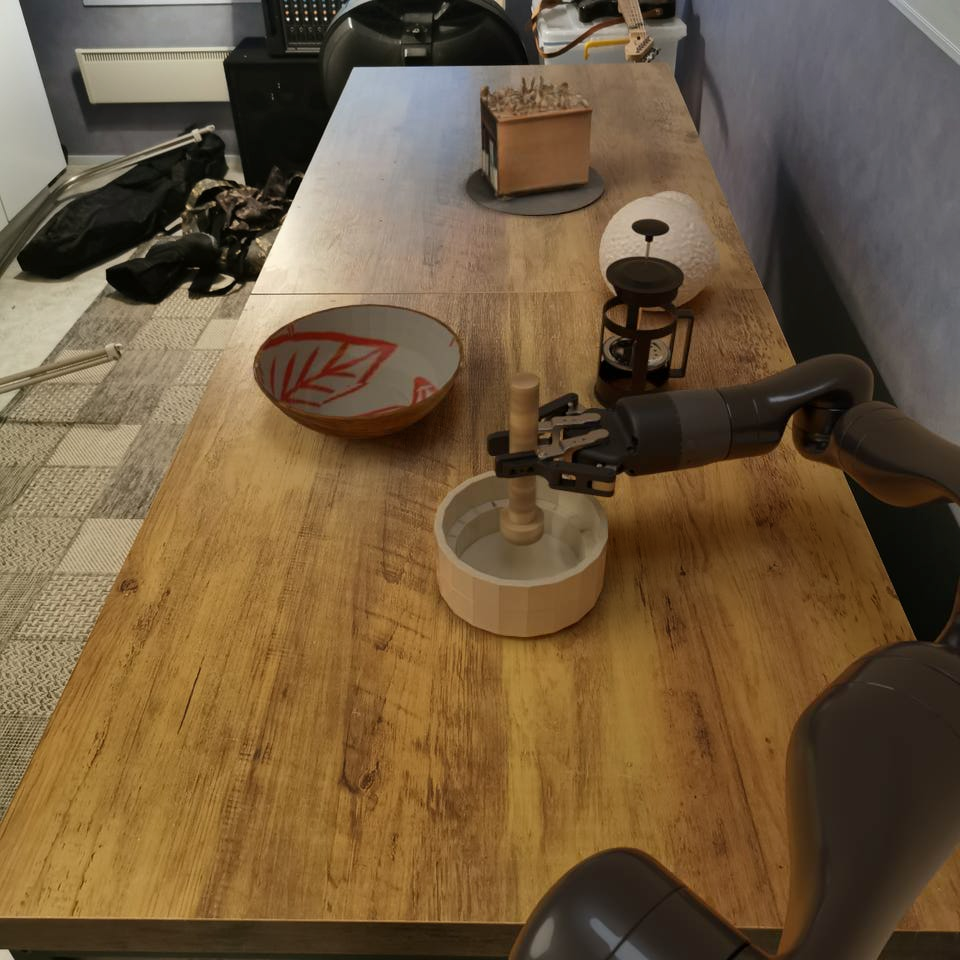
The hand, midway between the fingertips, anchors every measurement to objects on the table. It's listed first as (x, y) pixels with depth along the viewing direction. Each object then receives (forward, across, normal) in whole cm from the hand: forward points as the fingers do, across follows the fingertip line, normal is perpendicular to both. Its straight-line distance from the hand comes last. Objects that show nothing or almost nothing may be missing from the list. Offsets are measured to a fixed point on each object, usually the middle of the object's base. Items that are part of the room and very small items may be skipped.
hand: (492, 455), depth 85 cm
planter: (-28, +93, -15) cm, 98 cm away
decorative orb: (-34, +49, -15) cm, 61 cm away
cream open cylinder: (-2, -2, -15) cm, 15 cm away
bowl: (+10, +30, -15) cm, 35 cm away
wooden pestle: (-3, 0, -10) cm, 10 cm away
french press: (-24, +27, -15) cm, 39 cm away
